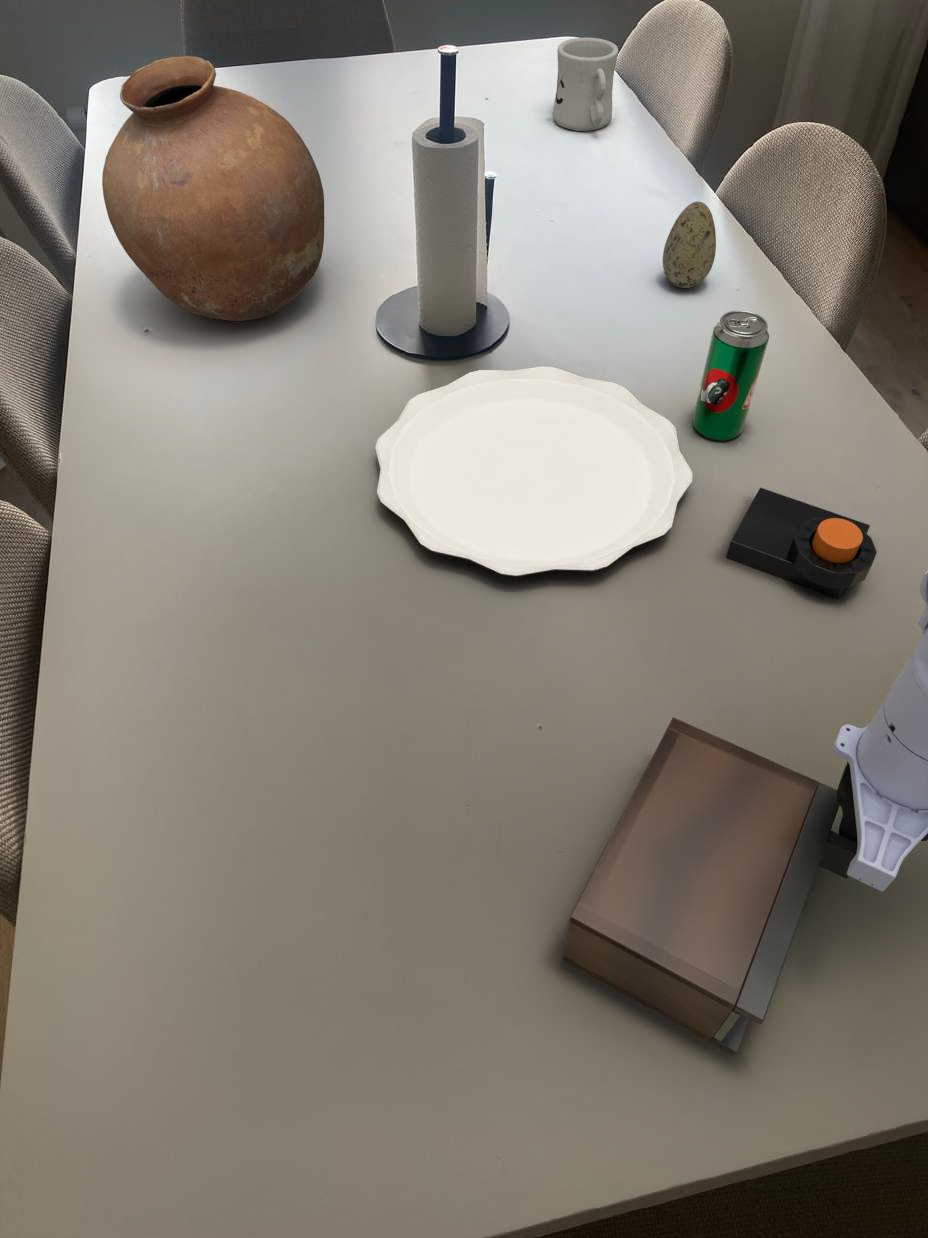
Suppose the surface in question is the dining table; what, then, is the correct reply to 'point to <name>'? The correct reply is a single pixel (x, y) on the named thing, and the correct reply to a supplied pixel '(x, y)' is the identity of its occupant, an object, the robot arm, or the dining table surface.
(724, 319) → the soda can
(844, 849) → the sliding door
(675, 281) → the decorative egg
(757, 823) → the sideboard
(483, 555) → the plate
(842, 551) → the button
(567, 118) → the mug
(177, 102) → the pottery
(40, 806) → the dining table surface
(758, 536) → the control box
